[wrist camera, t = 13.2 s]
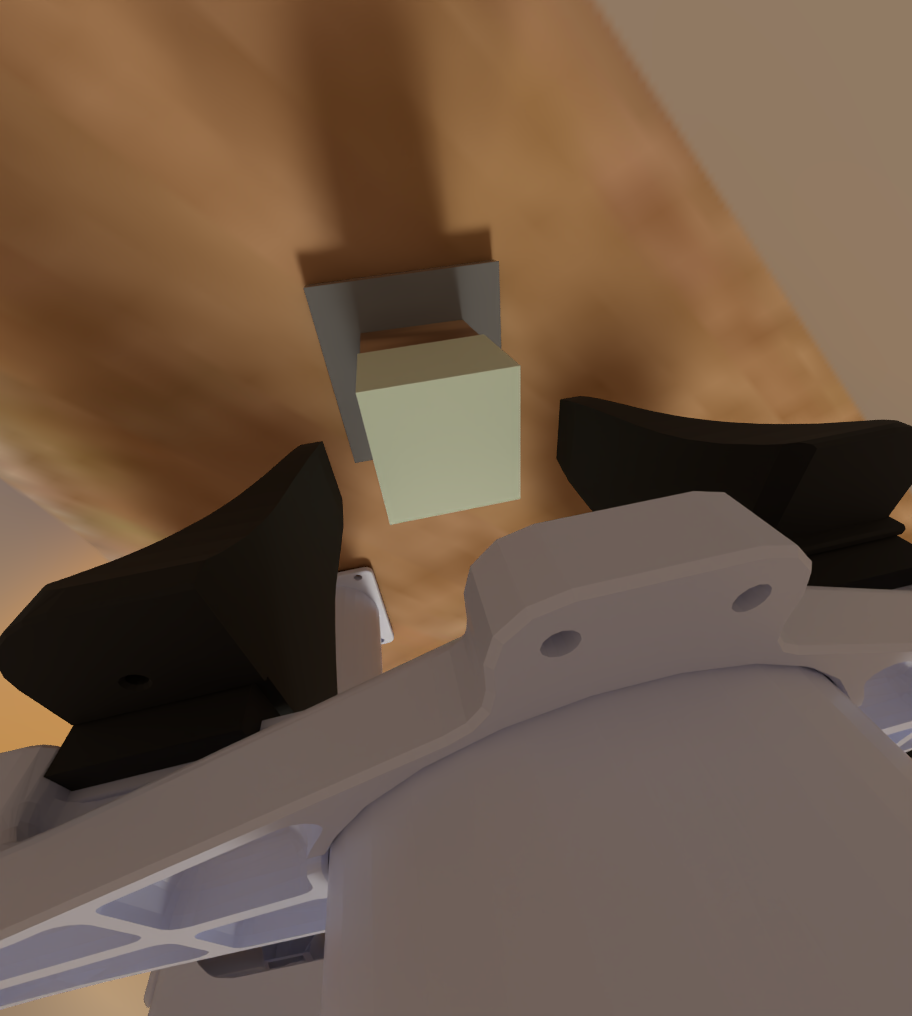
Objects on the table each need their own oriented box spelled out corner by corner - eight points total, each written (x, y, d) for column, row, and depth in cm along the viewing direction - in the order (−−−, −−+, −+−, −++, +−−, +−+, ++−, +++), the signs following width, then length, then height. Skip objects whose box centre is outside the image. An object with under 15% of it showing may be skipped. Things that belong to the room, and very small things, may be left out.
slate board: (355, 453, 21) (355, 463, 20) (306, 285, 16) (303, 288, 15) (498, 428, 22) (503, 435, 21) (492, 259, 17) (498, 261, 16)
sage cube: (384, 465, 16) (390, 524, 13) (357, 353, 13) (355, 392, 10) (489, 446, 16) (520, 498, 13) (484, 334, 14) (520, 365, 11)
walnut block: (381, 429, 19) (384, 468, 16) (360, 333, 17) (359, 357, 13) (469, 415, 20) (489, 451, 17) (462, 319, 17) (485, 340, 14)
